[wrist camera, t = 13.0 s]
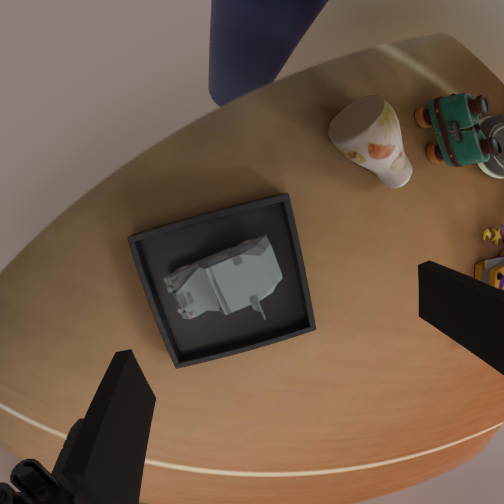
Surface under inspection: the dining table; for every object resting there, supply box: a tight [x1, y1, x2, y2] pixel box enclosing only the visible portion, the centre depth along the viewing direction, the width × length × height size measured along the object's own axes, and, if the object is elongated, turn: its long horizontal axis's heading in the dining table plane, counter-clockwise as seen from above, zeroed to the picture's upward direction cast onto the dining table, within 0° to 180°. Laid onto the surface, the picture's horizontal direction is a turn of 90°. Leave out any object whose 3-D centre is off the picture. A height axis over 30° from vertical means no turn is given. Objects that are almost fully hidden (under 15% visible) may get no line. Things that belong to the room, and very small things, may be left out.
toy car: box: [163, 235, 282, 320], centre depth 26 cm, size 6×10×5 cm, turn 111°
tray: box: [127, 193, 316, 368], centre depth 28 cm, size 14×15×2 cm
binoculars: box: [415, 93, 503, 167], centre depth 24 cm, size 9×11×10 cm
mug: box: [328, 95, 412, 188], centre depth 25 cm, size 8×10×10 cm
